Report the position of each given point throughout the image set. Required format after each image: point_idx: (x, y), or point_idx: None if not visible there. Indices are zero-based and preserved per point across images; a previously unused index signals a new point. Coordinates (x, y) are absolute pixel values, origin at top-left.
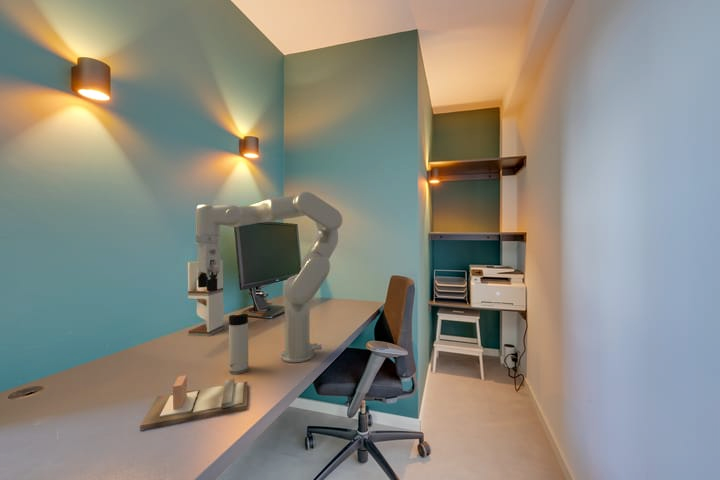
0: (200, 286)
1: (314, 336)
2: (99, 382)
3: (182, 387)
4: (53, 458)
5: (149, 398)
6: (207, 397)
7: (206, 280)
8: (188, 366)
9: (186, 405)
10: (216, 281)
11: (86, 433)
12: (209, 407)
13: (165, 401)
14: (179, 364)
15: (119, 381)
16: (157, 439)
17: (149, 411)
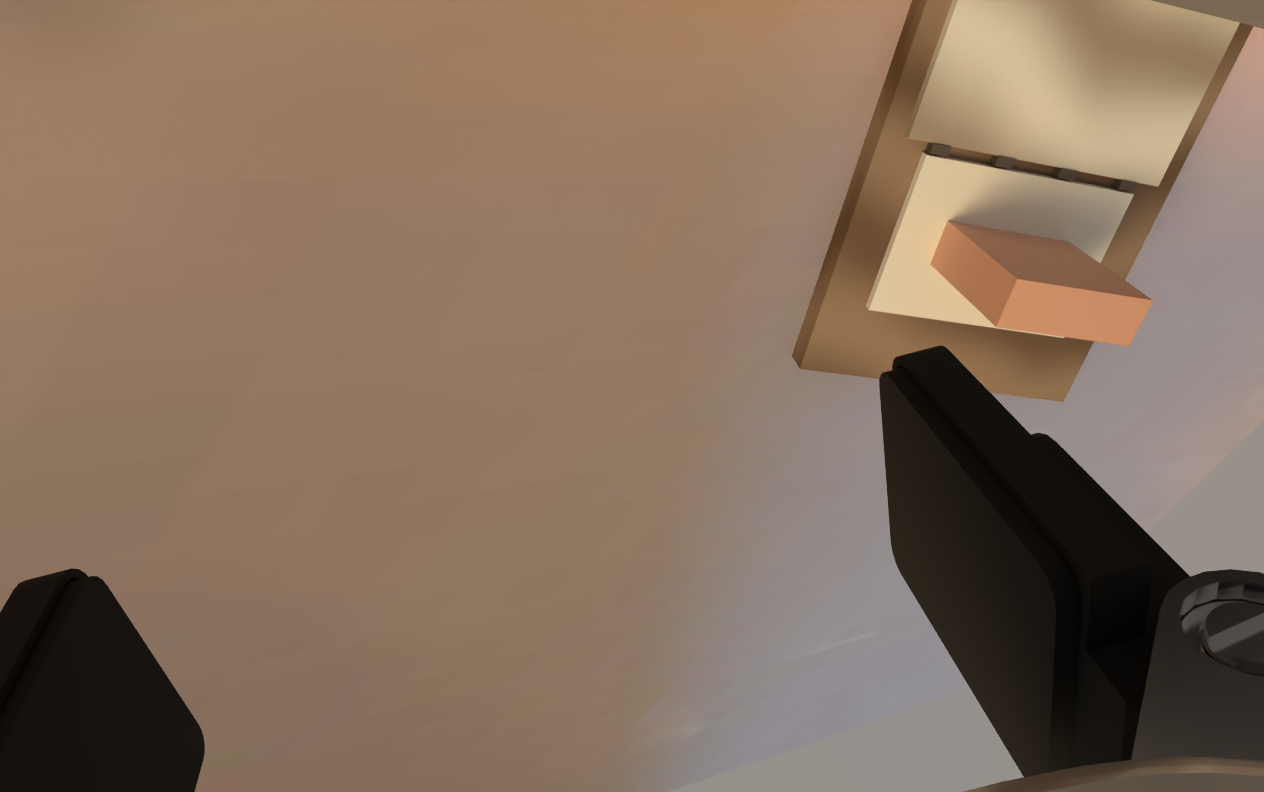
0: (189, 735)
1: None
2: (339, 662)
3: (1120, 286)
4: None
5: (736, 398)
6: (1058, 99)
7: (38, 769)
8: (301, 208)
9: (1063, 219)
10: (1079, 518)
11: None
12: (1190, 95)
13: (900, 324)
14: (216, 278)
15: (378, 579)
16: (1181, 315)
17: None
